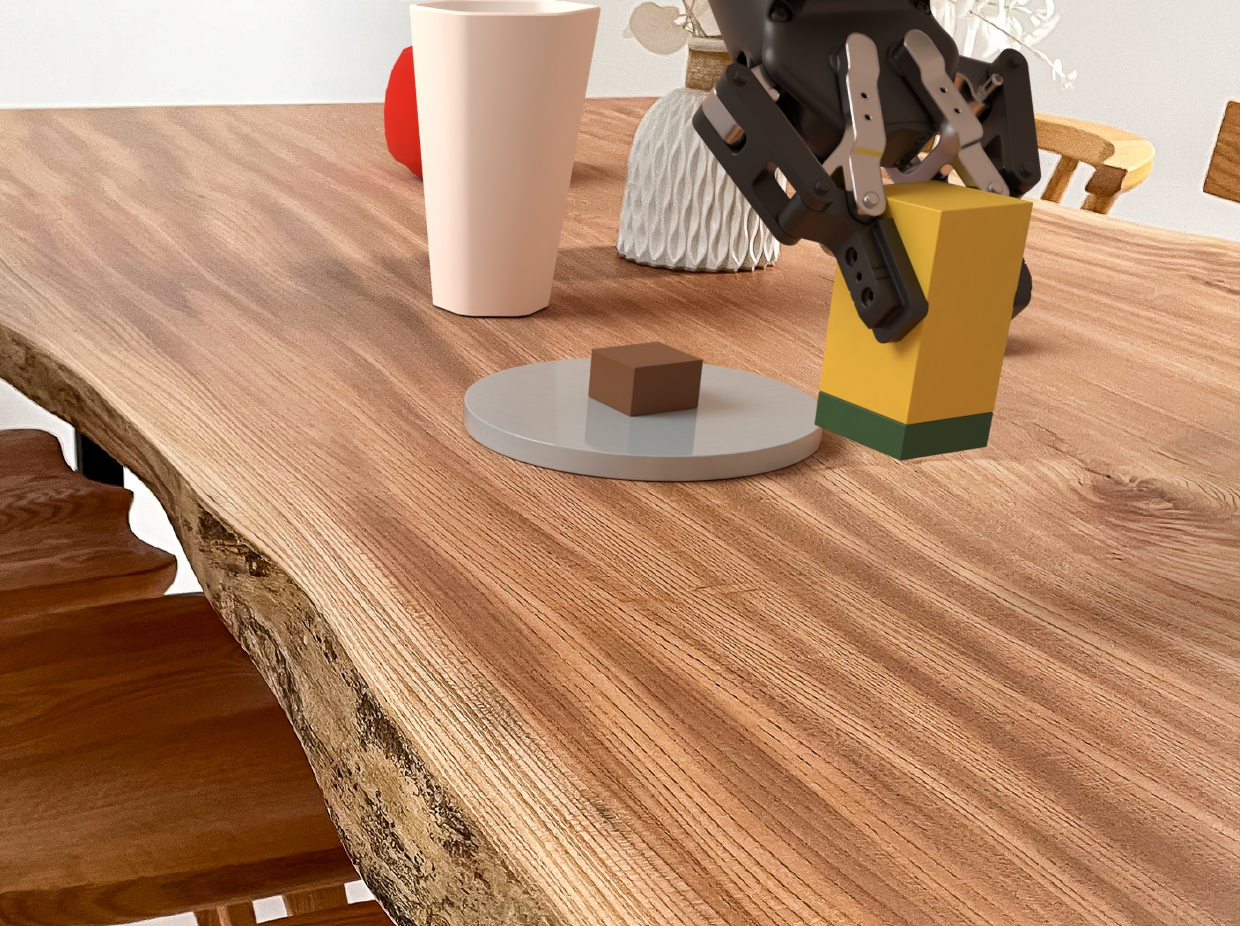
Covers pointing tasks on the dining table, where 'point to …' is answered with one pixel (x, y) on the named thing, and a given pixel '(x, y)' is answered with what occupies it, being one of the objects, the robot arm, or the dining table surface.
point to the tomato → (403, 114)
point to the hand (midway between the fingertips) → (957, 321)
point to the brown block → (645, 378)
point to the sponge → (930, 328)
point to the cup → (498, 143)
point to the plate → (642, 425)
